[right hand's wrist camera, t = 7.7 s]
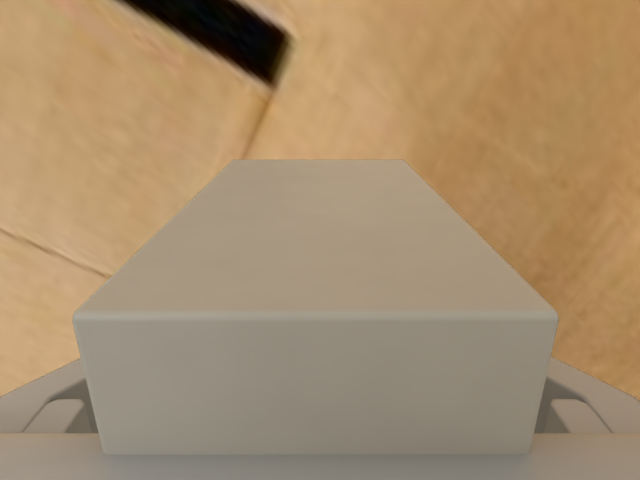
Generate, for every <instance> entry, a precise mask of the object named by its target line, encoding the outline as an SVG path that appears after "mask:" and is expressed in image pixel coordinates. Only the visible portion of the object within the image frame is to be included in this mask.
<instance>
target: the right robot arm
mask: <svg viewBox="0 0 640 480" xmlns="http://www.w3.org/2000/svg"><path fill="white" fill-rule="evenodd" d="M0 480H640V401H639V400H638V399H637V398H635V397H633V396H631V395H629V394H627V393H625V392H623V391H621V390H619V389H617V388H615V387H613V386H611V385H609V384H607V383H605V382H603V381H601V380H599V379H596V378H594V377H592V376H590V375H588V374H586V373H584V372H582V371H580V370H578V369H576V368H574V367H572V366H570V365H568V364H566V363H564V362H562V361H560V360H558V359H556V358H554V357H550V362H549V366H548V371H547V375H546V380H545V384H544V389H543V393H542V398H541V402H540V407H539V411H538V416H537V420H536V425H535V429H534V434H533V438H532V443H531V447H530V452H529V453H527V454H419V455H107V454H104V453H103V450H102V446H101V441H100V437H99V433H98V429H97V424H96V420H95V416H94V411H93V407H92V403H91V399H90V394H89V390H88V386H87V381H86V377H85V373H84V368H83V364H82V360H81V358H80V359H77V360H75V361H73V362H71V363H69V364H67V365H65V366H63V367H61V368H59V369H57V370H55V371H53V372H51V373H48V374H46V375H44V376H42V377H40V378H38V379H36V380H34V381H32V382H30V383H28V384H26V385H24V386H22V387H19V388H17V389H15V390H13V391H11V392H9V393H7V394H5V395H3V396H1V397H0Z"/></svg>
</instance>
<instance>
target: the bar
mask: <svg viewBox="0 0 640 480" xmlns="http://www.w3.org/2000/svg"><path fill="white" fill-rule="evenodd" d="M558 321H559V319H558V314H557V311H556V310H555V309H554V308H553V307H552V306H551V305H550V304H549V303H548V302H547V301H546V300H545V299H544V298H543V297H542V296H541V295H540V294H539V293H538V292H537V291H536V290H535V289H534V288H533V287H532V286H531V285H530V284H529V283H528V282H527V281H526V280H525V279H524V278H523V277H522V276H521V275H520V274H519V273H518V272H517V271H516V270H515V269H514V268H513V267H512V266H511V265H509V264H508V263H507V262H506V261H505V260H504V259H503V258H502V257H501V256H500V255H499V254H498V253H497V252H496V251H495V250H494V249H493V248H492V247H491V246H490V245H489V244H488V243H487V242H486V241H485V240H484V239H483V238H482V237H481V236H480V235H479V234H478V233H477V232H476V231H475V230H474V229H473V228H472V227H471V226H470V225H469V224H468V223H467V222H466V221H465V220H464V219H463V218H462V217H461V216H460V215H459V214H458V213H457V212H456V211H455V210H454V209H453V208H452V207H451V206H450V205H449V204H448V203H447V202H446V201H445V200H444V199H443V198H442V197H441V196H440V195H439V194H438V193H437V192H436V191H435V190H434V189H433V188H432V187H431V186H430V185H429V184H428V183H427V182H426V181H425V180H424V179H423V178H422V177H421V176H420V175H419V174H418V173H416V172H415V171H414V170H413V169H412V168H411V167H410V166H409V165H408V164H407V163H406V162H405V161H404V160H232V161H231V162H230V163H229V164H228V165H227V166H226V167H225V168H224V169H223V170H222V171H221V172H220V173H219V174H218V175H216V176H215V177H214V178H213V179H212V180H211V181H210V182H209V183H208V184H207V185H206V186H205V187H204V188H203V189H202V190H201V191H200V192H199V193H198V194H197V195H196V196H195V197H194V198H193V199H192V200H190V201H189V202H188V203H187V204H186V205H185V206H184V207H183V208H182V209H181V210H180V211H179V212H178V213H177V214H176V215H175V216H174V217H173V218H172V219H171V220H170V221H169V222H168V223H167V224H165V225H164V226H163V227H162V228H161V229H160V230H159V231H158V232H157V233H156V234H155V235H154V236H153V237H152V238H151V239H150V240H149V241H148V242H147V243H146V244H145V245H144V246H143V247H142V248H141V249H139V250H138V251H137V252H136V253H135V254H134V255H133V256H132V257H131V258H130V259H129V260H128V261H127V262H126V263H125V264H124V265H123V266H122V267H121V268H120V269H119V270H118V271H117V272H116V273H115V274H113V275H112V276H111V277H110V278H109V279H108V280H107V281H106V282H105V283H104V284H103V285H102V286H101V287H100V288H99V289H98V290H97V291H96V292H95V293H94V294H93V295H92V296H91V297H90V298H89V299H87V300H86V301H85V302H84V303H83V304H82V305H81V306H80V307H79V308H78V309H77V310H76V311H75V312H74V315H73V326H74V330H75V334H76V338H77V343H78V347H79V351H80V356H81V360H82V364H83V368H84V373H85V377H86V381H87V386H88V390H89V394H90V399H91V403H92V407H93V411H94V416H95V420H96V424H97V429H98V433H99V437H100V441H101V446H102V450H103V453H104V454H107V455H419V454H527V453H529V452H530V447H531V443H532V438H533V434H534V429H535V425H536V420H537V416H538V411H539V407H540V402H541V398H542V393H543V389H544V384H545V380H546V375H547V371H548V366H549V362H550V357H551V353H552V348H553V344H554V339H555V335H556V330H557V326H558Z"/></svg>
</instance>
